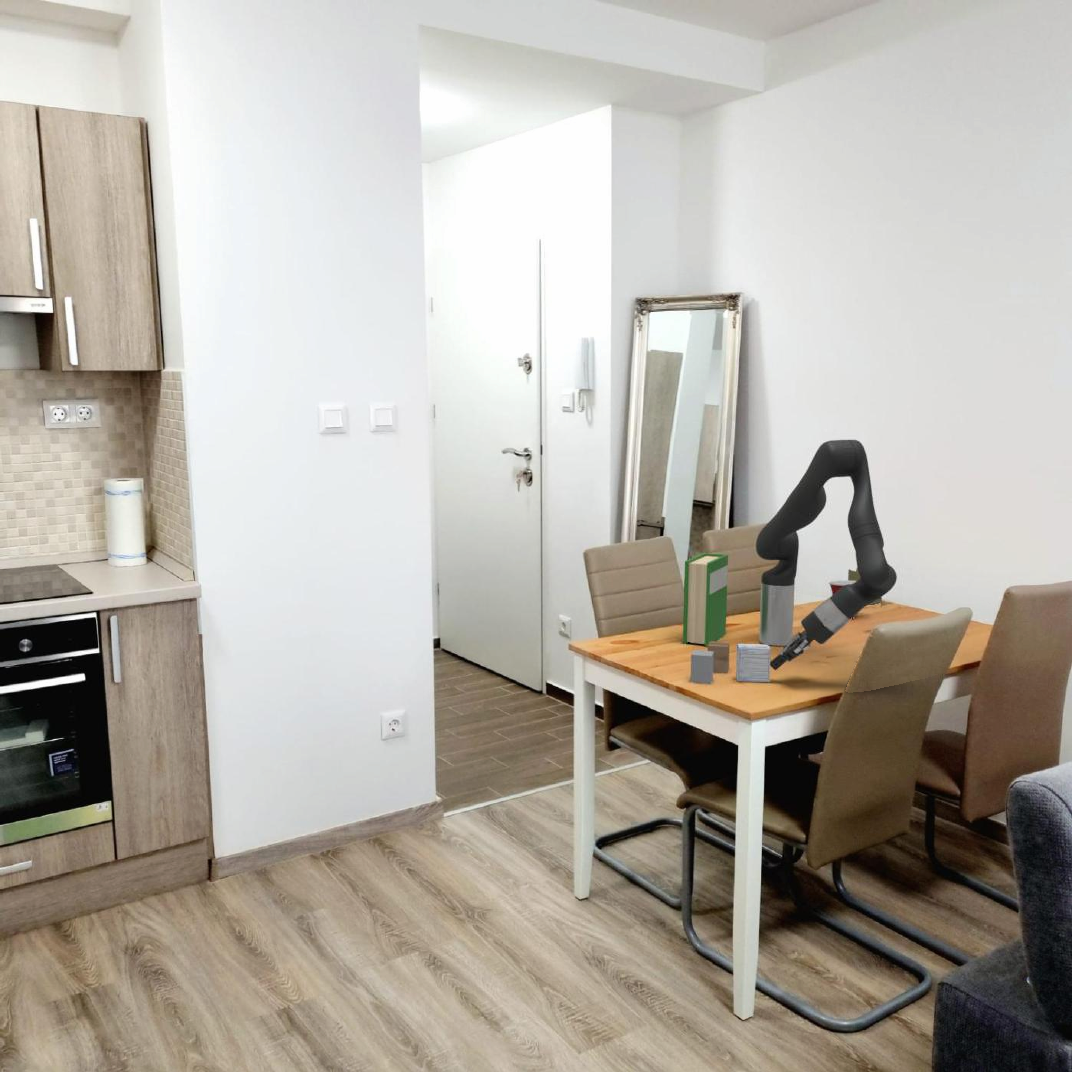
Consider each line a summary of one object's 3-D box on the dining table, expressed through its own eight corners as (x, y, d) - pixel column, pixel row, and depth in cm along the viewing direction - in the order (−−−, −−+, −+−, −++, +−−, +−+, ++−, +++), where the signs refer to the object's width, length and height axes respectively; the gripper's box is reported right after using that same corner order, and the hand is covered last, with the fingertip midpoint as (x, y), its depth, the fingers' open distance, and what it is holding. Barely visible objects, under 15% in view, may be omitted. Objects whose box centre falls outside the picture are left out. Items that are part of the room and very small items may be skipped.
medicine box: (767, 678, 257) (768, 644, 256) (769, 683, 252) (771, 648, 251) (735, 677, 258) (736, 643, 256) (737, 681, 253) (738, 647, 252)
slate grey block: (692, 677, 257) (693, 650, 256) (712, 678, 256) (713, 651, 255) (690, 682, 252) (691, 654, 252) (710, 684, 251) (711, 656, 250)
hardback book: (708, 647, 289) (710, 563, 286) (682, 644, 292) (684, 561, 289) (725, 634, 304) (728, 554, 301) (701, 632, 308) (703, 553, 305)
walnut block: (709, 667, 267) (710, 641, 266) (728, 668, 266) (729, 642, 265) (707, 672, 262) (708, 645, 261) (727, 673, 261) (727, 646, 260)
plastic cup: (843, 613, 337) (845, 577, 336) (869, 619, 328) (871, 582, 327) (819, 616, 332) (821, 579, 330) (845, 622, 323) (847, 585, 321)
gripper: (814, 604, 255) (762, 649, 260) (814, 614, 242) (760, 662, 247) (835, 626, 254) (783, 671, 259) (837, 638, 242) (782, 685, 246)
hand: (772, 666), depth 253 cm, fingers closed
